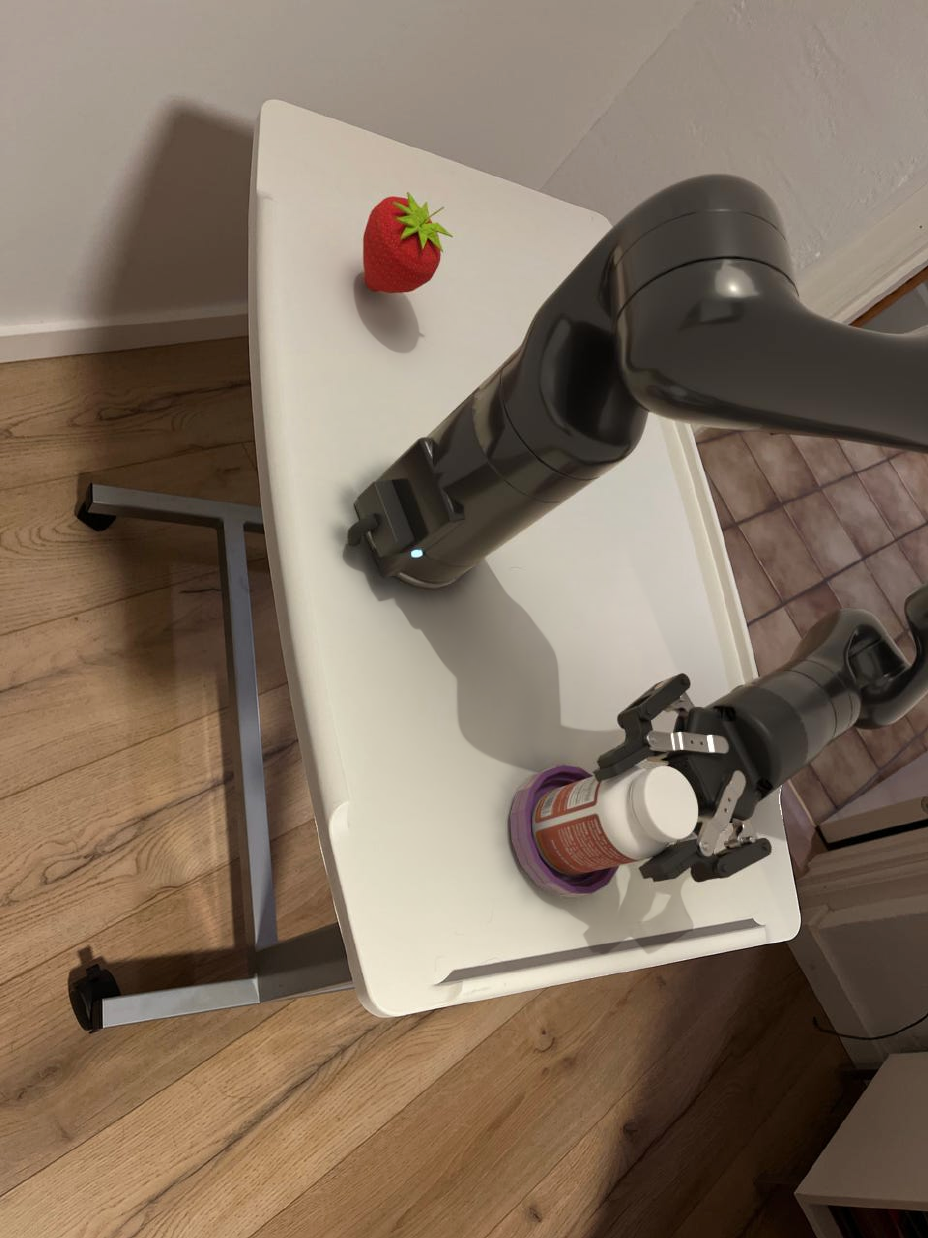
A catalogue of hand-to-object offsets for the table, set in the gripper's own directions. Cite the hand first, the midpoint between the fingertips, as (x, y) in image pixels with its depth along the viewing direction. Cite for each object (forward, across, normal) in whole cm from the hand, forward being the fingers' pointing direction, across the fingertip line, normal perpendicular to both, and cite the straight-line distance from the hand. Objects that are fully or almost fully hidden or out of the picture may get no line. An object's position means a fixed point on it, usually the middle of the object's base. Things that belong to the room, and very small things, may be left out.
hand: (627, 823), depth 57 cm
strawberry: (-9, -46, +10) cm, 48 cm away
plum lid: (-2, 0, +10) cm, 10 cm away
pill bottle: (-2, 0, +9) cm, 9 cm away
